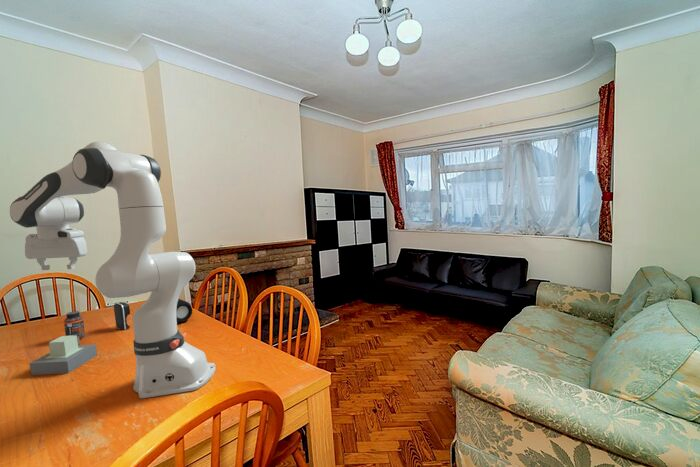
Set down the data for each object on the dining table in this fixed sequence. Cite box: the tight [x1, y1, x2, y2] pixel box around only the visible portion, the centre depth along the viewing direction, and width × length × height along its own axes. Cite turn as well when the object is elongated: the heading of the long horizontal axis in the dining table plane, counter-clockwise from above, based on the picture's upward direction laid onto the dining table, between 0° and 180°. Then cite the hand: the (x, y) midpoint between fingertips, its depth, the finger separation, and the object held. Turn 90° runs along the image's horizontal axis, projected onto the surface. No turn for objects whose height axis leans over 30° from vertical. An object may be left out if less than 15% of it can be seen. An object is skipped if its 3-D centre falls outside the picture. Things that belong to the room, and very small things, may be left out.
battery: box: [113, 301, 131, 331], centre depth 139 cm, size 7×4×11 cm, turn 59°
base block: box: [29, 344, 98, 376], centre depth 108 cm, size 12×12×4 cm
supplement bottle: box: [63, 310, 86, 340], centre depth 129 cm, size 6×6×11 cm
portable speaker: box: [176, 298, 193, 324], centre depth 150 cm, size 26×10×10 cm, turn 51°
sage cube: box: [48, 335, 78, 357], centre depth 107 cm, size 5×5×5 cm
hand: (58, 269), depth 117 cm, fingers open, 8 cm apart
